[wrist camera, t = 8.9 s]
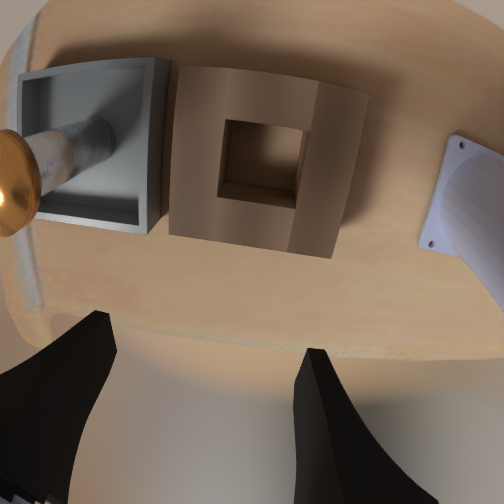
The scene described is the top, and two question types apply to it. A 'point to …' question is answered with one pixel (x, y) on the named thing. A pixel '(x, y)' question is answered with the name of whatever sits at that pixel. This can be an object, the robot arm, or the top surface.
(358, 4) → the top surface
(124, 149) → the tray
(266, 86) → the holder block
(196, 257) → the top surface
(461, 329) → the top surface
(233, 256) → the top surface
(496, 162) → the robot arm
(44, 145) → the pin
